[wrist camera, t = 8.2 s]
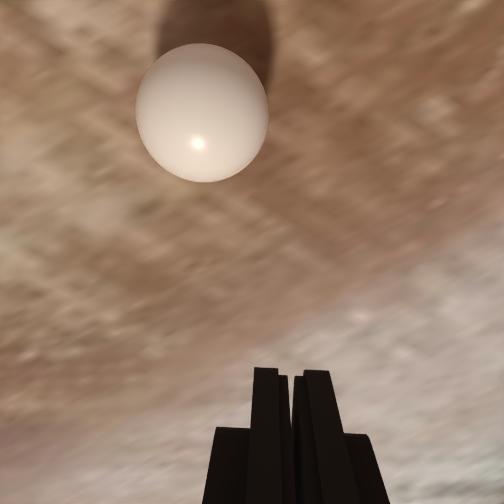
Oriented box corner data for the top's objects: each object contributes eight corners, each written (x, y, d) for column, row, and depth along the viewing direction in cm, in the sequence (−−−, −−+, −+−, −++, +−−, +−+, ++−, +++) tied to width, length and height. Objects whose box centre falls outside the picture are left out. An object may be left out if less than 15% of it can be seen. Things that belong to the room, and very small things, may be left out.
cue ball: (250, 77, 13) (311, 92, 18) (132, 1, 15) (217, 33, 20) (185, 217, 16) (254, 198, 21) (90, 140, 17) (174, 139, 22)
